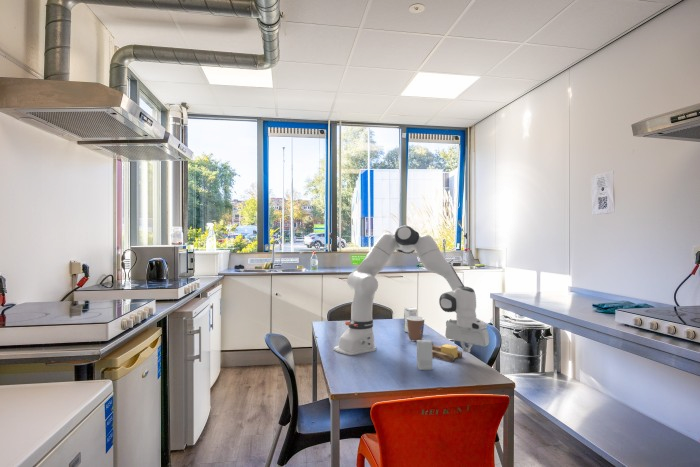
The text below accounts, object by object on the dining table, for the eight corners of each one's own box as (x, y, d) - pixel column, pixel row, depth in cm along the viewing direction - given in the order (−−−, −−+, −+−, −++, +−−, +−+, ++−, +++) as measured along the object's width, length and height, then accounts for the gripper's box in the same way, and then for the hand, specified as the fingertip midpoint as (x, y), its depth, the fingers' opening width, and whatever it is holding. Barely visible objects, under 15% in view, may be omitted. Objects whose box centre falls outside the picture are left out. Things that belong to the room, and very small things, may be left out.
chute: (462, 356, 176) (462, 350, 176) (451, 361, 169) (451, 355, 169) (431, 349, 188) (431, 343, 188) (419, 353, 181) (419, 347, 181)
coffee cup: (424, 342, 200) (425, 320, 200) (405, 341, 202) (406, 319, 202) (424, 337, 210) (425, 316, 210) (406, 336, 212) (406, 315, 212)
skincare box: (429, 366, 163) (429, 339, 163) (432, 370, 158) (433, 342, 158) (416, 366, 162) (416, 339, 162) (418, 370, 158) (419, 342, 158)
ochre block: (457, 357, 175) (457, 346, 175) (452, 359, 172) (452, 348, 172) (446, 354, 179) (446, 344, 179) (440, 356, 176) (440, 346, 176)
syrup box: (411, 330, 227) (411, 306, 227) (416, 332, 221) (417, 308, 222) (403, 331, 225) (403, 307, 225) (408, 333, 219) (408, 309, 219)
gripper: (442, 319, 175) (443, 348, 175) (484, 326, 161) (484, 358, 161) (449, 317, 180) (449, 345, 179) (490, 324, 165) (490, 354, 165)
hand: (466, 351), depth 170 cm, fingers closed
